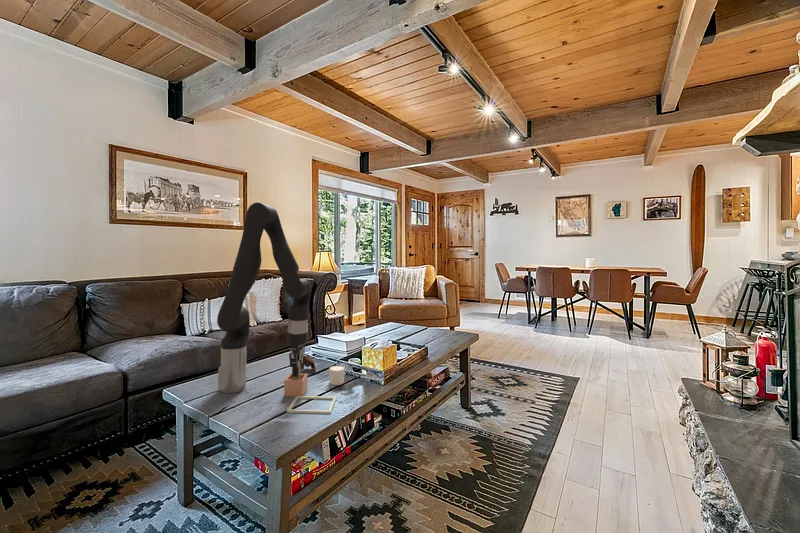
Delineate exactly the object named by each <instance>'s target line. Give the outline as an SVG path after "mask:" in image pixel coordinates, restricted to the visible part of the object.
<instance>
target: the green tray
mask: <svg viewBox="0 0 800 533" xmlns="http://www.w3.org/2000/svg"><path fill="white" fill-rule="evenodd" d="M294 397H295V398H294V399H293V400H292V401H291V403H290V405H289V406H288V408H287V409H286V413H293V414H294V413H295V414H296V413H298V414H325V415H326V414H327V415H330V414H332V412H333V411H332V410H333V408H334V407H335V406H334V405H335V403H336V400H337V396H322V395H321V396H316V395H303V396H294ZM298 399H300V400H303V399H304V400H305V399H306V400H329V401H330V400H331V401H332V402H331V404H330V406H329V407H328V410H325V409H323V410H320V409H293V407H294V405H295V404H296V403H297V401H298Z"/></svg>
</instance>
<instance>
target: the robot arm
mask: <svg viewBox="0 0 800 533" xmlns="http://www.w3.org/2000/svg"><path fill="white" fill-rule="evenodd" d="M264 231H265V233H266V235H267V236H268V238H269V240H270V244H271V250H272V256H273V259H274V262H275V264H276V266H277V268H278V270H279V272H280V274H281V279H282V284H283V287H284V290H285V293H286V294H287V295H288V297H290V298H292V300H293V301H292V303H291V304H290V305H289V307H288V322H287V343H288V345H291V346H292V347H291V349H290V352H289V354H288V358H289V367H290V368H291V373H292V376H293V377H298V370H299V362H301V372H302V371H303V370H302V362H303V359H304V356H305V350H306V344H307V343H308V342H309V341H308V340H309V338H308V337H309V322H308V318H309V305H310V299H311V296H312V286H311V284H310V282H309V280H307V279H305V278H300V276H299V274H298V272H299V271H300V268H299V264H298V262H297V260H296V258H295V256H294V254H293V253H292V250H291V247H290V246H289V243H288V241H287V238H286V234H285V233H284V229H283V227H282V223H281V219H280V216H279V213H278V211H277V209H276V208H275V207H273V206H272V205H270V204H266V203H263V202H253V203H252V204H250V205H249V206H248V208H247V211H246V214H245V218H244V224H243V231H242V236H241V240H240V243H239V248H238V252H237V254H236V255H237V256H236V258H235V261H234V265H233V268H232V272H231V276H230V280H229V282H228V287H227V290H226V292H225V297H224V299H223V301H222V303H221V306H220V309H219V311H218V314H217V319H216V320H217V321H216V322H217V326H218V327H219V330H221V331H223V332H224V333H225V334H224V336H223V338H222V339H221V340H220V366H219V367H218V370H217V372H218V373H217V374H218V377H217V378H218V379H217V391H218V392H221V393H225V394H232V393H233V394H234V393H238V392H242V391H243V390H245V389H246V388H247V341H248V339H249V337H250V325H251V324H250V321H251V319H250V317H251V316H250V313H249V310H248V309H247V308H246V306H244V305H243V304H244V302H245V299H246V297H247V295H248V294H249V292H250V291H251V289H252V287H253V286H254V284H255V282H256V281H257V279H258V276H259V272H260V269H261V265H262V252H261V250H262V249H261V239H262V236H263V233H264ZM294 362H295V364H294Z"/></svg>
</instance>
